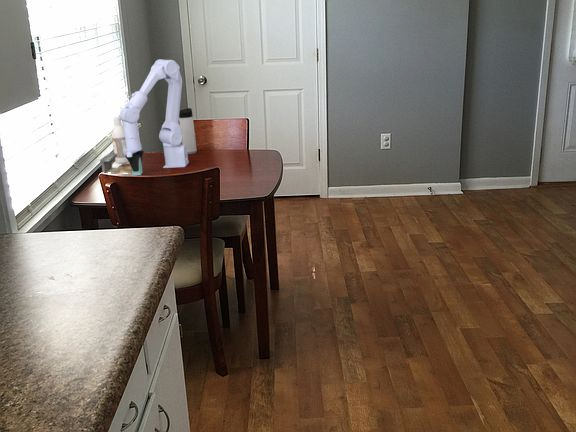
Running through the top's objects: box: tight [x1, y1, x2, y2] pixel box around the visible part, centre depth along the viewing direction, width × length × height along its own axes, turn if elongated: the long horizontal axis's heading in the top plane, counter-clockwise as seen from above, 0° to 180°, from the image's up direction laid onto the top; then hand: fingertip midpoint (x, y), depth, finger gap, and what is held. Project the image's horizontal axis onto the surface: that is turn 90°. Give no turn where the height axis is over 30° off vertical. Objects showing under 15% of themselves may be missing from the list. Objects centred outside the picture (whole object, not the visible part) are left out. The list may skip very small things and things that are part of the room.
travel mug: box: [178, 107, 198, 155], centre depth 294 cm, size 6×7×20 cm
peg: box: [132, 157, 143, 176], centre depth 265 cm, size 3×3×7 cm
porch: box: [99, 153, 133, 174], centre depth 270 cm, size 13×10×7 cm
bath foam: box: [111, 116, 129, 164], centre depth 286 cm, size 7×7×20 cm
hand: (137, 170), depth 265 cm, fingers closed on peg, 3 cm apart
